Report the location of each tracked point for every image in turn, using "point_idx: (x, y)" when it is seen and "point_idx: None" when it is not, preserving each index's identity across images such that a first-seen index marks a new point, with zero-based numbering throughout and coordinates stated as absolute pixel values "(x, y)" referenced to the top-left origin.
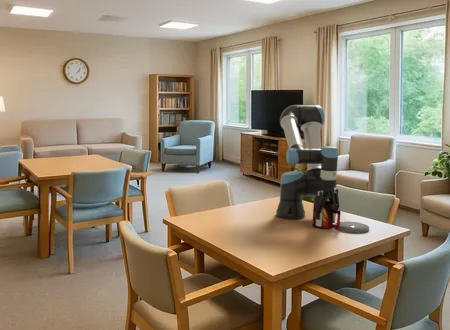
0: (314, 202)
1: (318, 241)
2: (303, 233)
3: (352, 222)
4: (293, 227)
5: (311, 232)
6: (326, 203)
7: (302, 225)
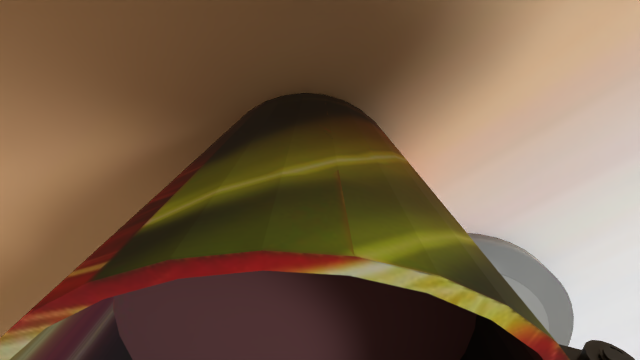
0: (136, 266)
1: None
2: (13, 204)
3: (542, 313)
4: (19, 11)
5: (98, 226)
6: (519, 355)
7: (166, 27)
